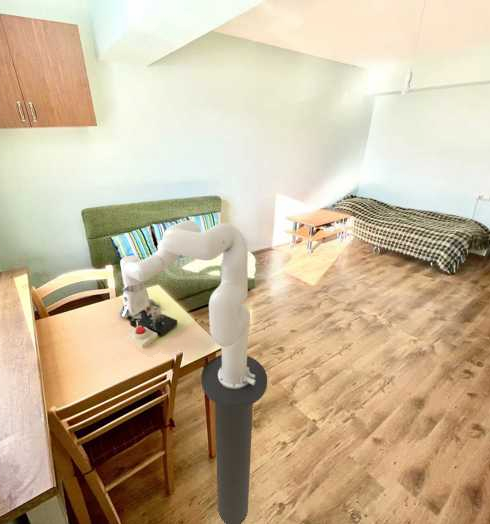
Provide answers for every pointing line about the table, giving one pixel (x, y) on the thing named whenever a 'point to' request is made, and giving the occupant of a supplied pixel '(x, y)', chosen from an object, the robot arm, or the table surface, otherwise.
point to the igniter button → (140, 330)
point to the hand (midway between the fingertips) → (139, 322)
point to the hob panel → (160, 327)
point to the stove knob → (156, 316)
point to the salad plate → (138, 315)
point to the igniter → (142, 337)
